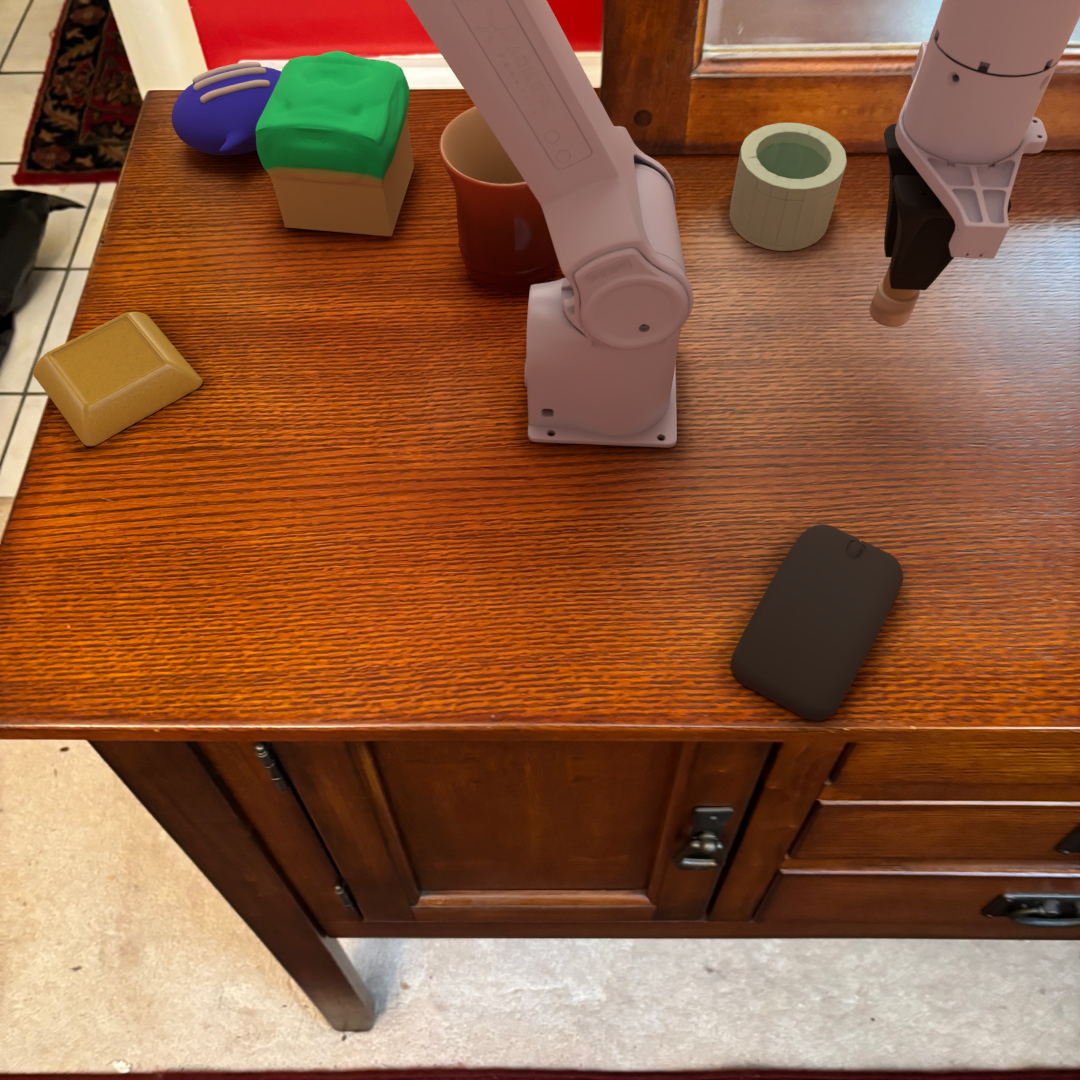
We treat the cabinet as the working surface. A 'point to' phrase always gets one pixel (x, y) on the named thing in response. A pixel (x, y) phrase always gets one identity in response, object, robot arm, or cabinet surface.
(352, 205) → the cake
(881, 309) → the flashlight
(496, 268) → the mug
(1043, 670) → the cabinet surface
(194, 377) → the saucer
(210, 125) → the decorative object
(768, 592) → the computer mouse
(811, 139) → the jar
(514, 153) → the robot arm
